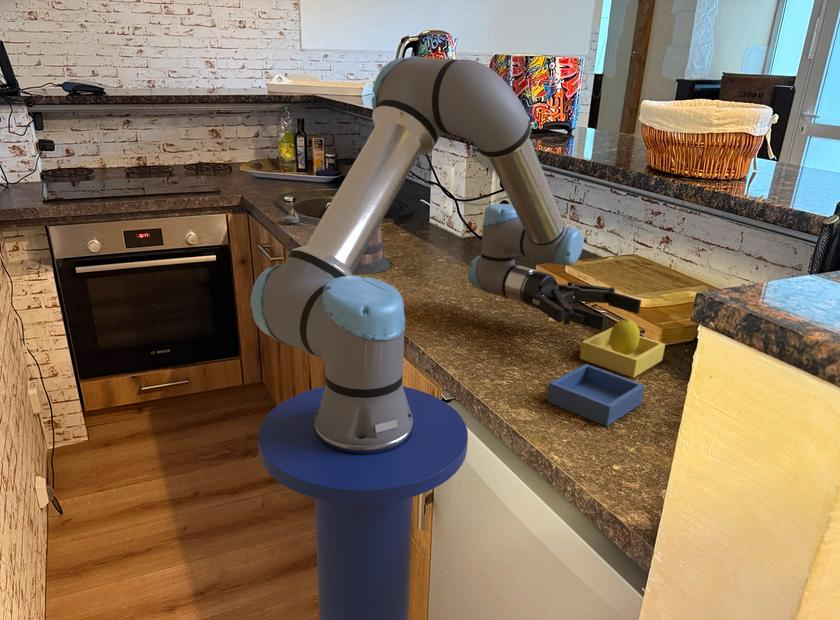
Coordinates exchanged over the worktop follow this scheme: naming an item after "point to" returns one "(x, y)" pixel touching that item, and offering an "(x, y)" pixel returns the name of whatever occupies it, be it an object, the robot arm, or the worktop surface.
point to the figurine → (291, 217)
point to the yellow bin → (630, 364)
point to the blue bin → (595, 394)
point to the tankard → (373, 256)
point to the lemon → (624, 337)
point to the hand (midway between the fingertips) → (622, 315)
